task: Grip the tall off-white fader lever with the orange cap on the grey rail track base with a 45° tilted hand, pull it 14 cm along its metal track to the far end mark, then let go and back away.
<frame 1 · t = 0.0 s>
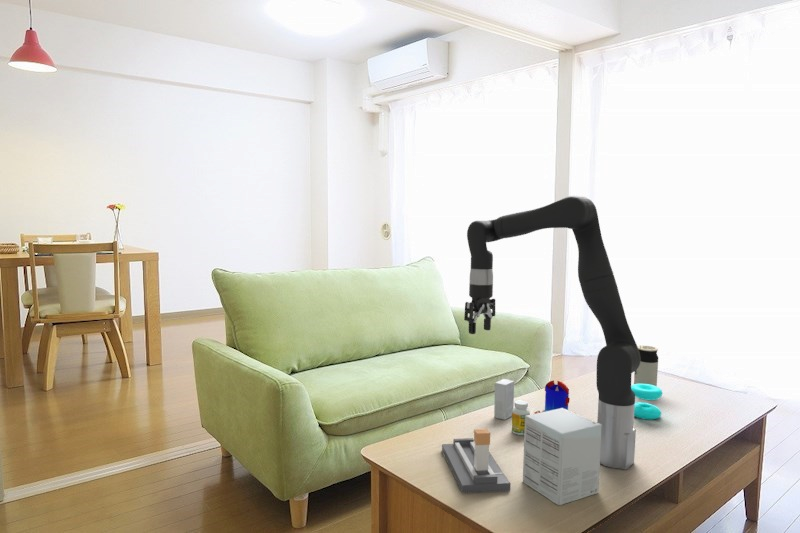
hand: (479, 331, 178), 29 cm above the table, tool pointing down, fingers open, 8 cm apart
skincare box: (503, 416, 183), on the table
fader: (481, 452, 137), point 8 cm above the table, slide at 0.0 cm
supplement box: (559, 488, 135), on the table
supplement bottle: (520, 432, 170), on the table
grey rail track base: (473, 469, 144), on the table
fantasy tower: (556, 415, 185), on the table
donuts: (644, 416, 186), on the table
travel mug: (644, 394, 209), on the table
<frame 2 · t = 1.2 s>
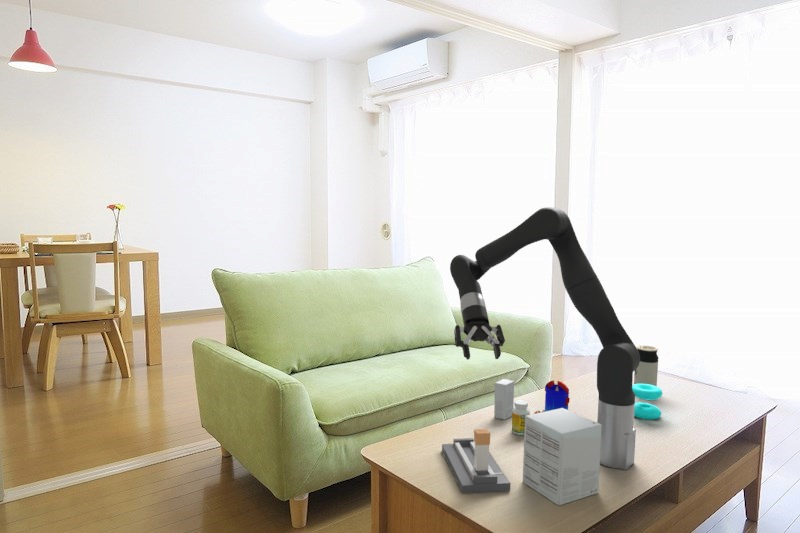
hand: (483, 358, 155), 27 cm above the table, tool tilted 45°, fingers open, 8 cm apart
nothing on the table moved.
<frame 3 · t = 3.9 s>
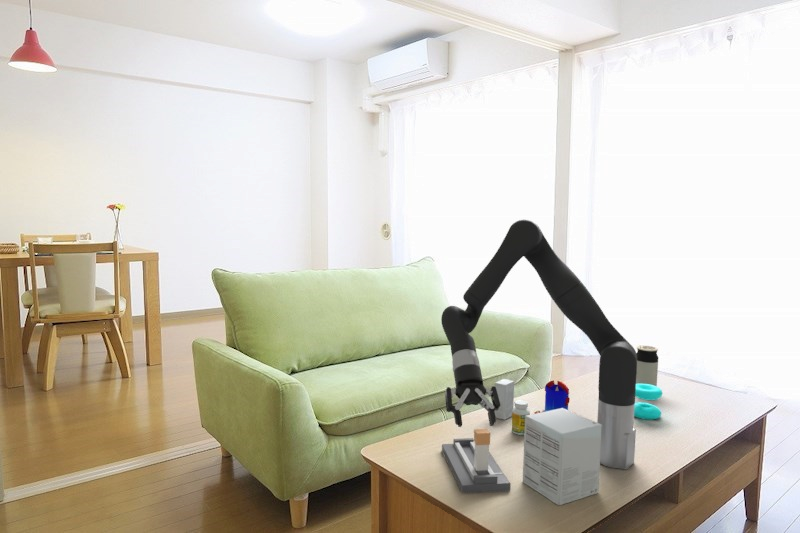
hand: (476, 425, 141), 13 cm above the table, tool tilted 45°, fingers open, 8 cm apart
nothing on the table moved.
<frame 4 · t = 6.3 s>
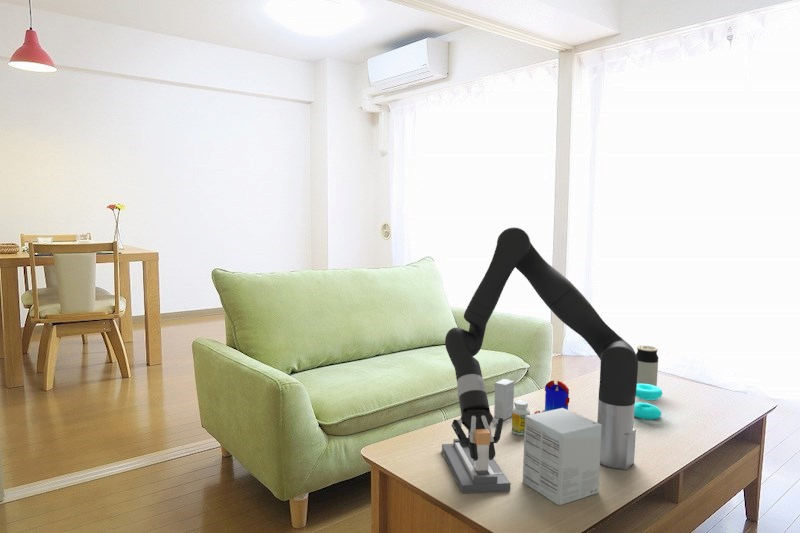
hand: (483, 459, 135), 7 cm above the table, tool tilted 45°, fingers closed on fader, 3 cm apart
fader: (481, 452, 137), point 8 cm above the table, slide at 0.0 cm, touching gripper
everything else where it was.
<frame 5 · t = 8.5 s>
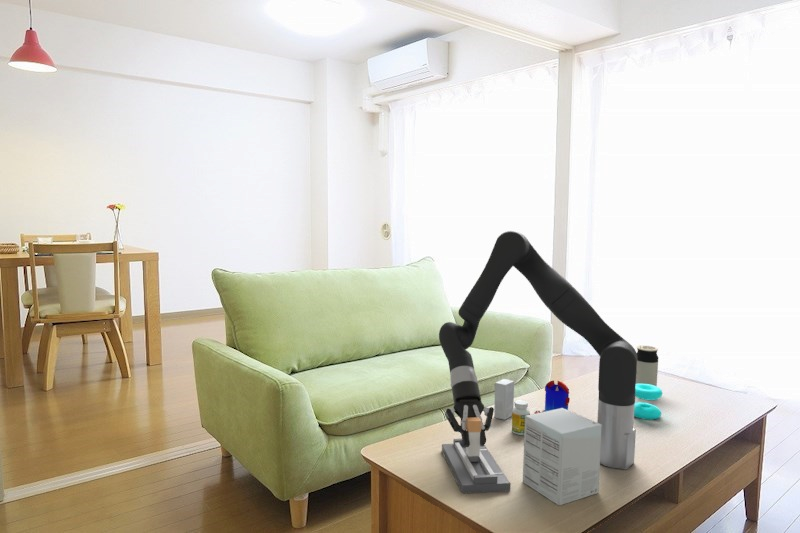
hand: (475, 445, 143), 7 cm above the table, tool tilted 45°, fingers closed on fader, 3 cm apart
fader: (473, 439, 144), point 8 cm above the table, slide at 8.0 cm, touching gripper
everything else where it was.
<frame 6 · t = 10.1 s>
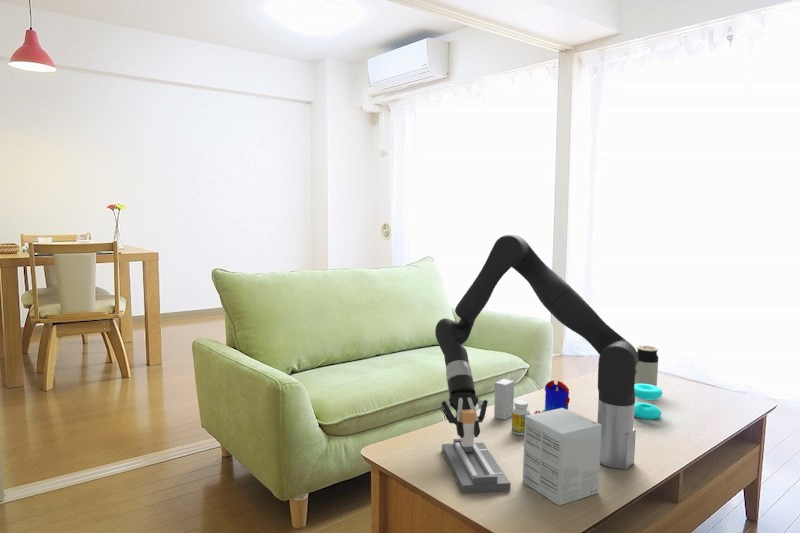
hand: (469, 436, 148), 7 cm above the table, tool tilted 45°, fingers closed on fader, 3 cm apart
fader: (467, 430, 150), point 8 cm above the table, slide at 14.0 cm, touching gripper
everything else where it was.
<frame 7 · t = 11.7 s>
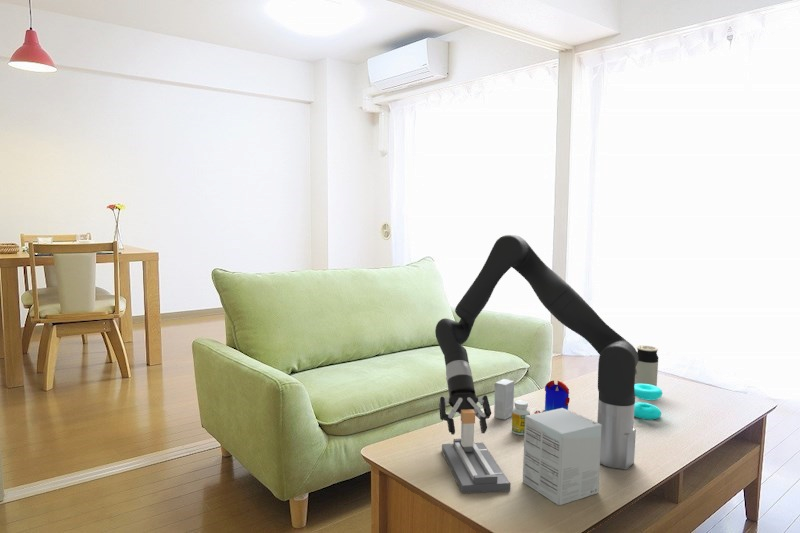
hand: (468, 432, 149), 8 cm above the table, tool tilted 45°, fingers open, 8 cm apart
fader: (467, 430, 150), point 8 cm above the table, slide at 14.0 cm
everything else where it was.
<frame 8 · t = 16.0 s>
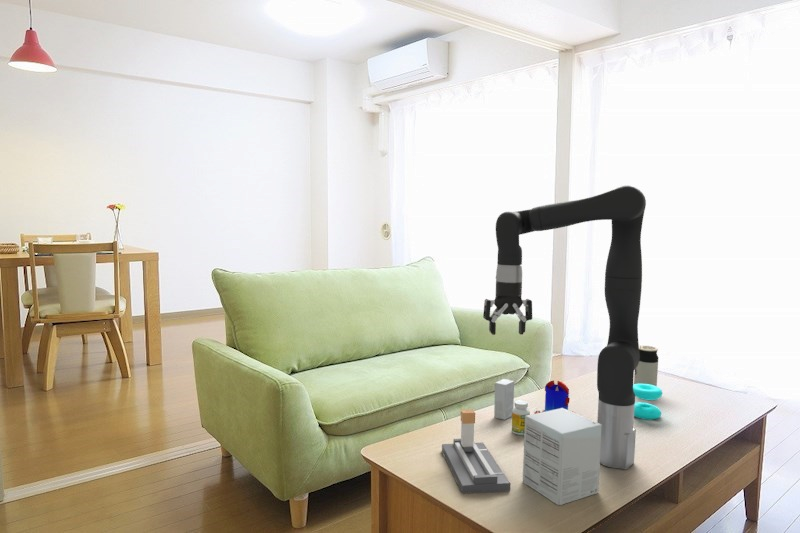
hand: (507, 334, 161), 32 cm above the table, tool pointing down, fingers open, 8 cm apart
nothing on the table moved.
at the end: fader slide at 14.0 cm; the gripper is holding nothing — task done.
